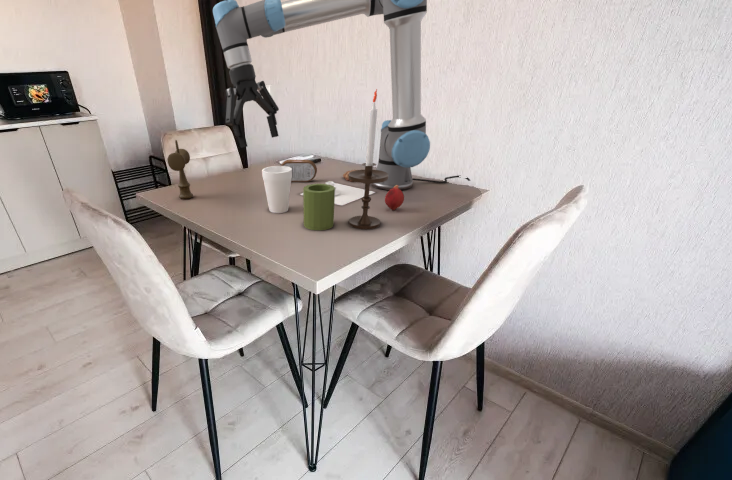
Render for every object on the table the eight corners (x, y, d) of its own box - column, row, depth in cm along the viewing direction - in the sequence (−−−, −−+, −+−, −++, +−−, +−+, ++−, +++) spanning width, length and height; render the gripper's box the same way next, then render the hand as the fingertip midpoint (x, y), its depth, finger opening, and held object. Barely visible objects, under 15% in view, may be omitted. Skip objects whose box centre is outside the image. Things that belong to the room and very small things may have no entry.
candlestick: (361, 214, 117) (371, 87, 98) (390, 223, 110) (406, 88, 92) (338, 224, 111) (344, 89, 92) (367, 233, 104) (380, 90, 86)
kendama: (174, 202, 134) (163, 142, 123) (181, 194, 142) (170, 137, 131) (191, 201, 134) (181, 142, 123) (197, 193, 142) (187, 137, 131)
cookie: (347, 182, 149) (347, 175, 147) (340, 176, 158) (340, 168, 156) (371, 181, 150) (372, 173, 148) (363, 174, 159) (363, 167, 157)
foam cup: (292, 214, 119) (291, 172, 112) (263, 215, 120) (261, 173, 113) (292, 204, 127) (291, 165, 120) (266, 205, 128) (263, 166, 121)
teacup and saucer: (329, 188, 142) (329, 178, 140) (346, 192, 137) (346, 181, 135) (314, 194, 137) (314, 182, 135) (330, 198, 132) (330, 186, 130)
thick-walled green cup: (334, 220, 114) (335, 183, 108) (332, 231, 107) (333, 192, 101) (306, 219, 115) (305, 183, 110) (301, 229, 108) (301, 192, 102)
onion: (391, 214, 117) (394, 188, 113) (380, 209, 121) (382, 184, 117) (406, 211, 119) (409, 185, 115) (394, 206, 123) (397, 181, 119)
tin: (316, 180, 153) (317, 158, 148) (316, 182, 150) (316, 160, 146) (280, 180, 154) (279, 159, 150) (279, 182, 152) (278, 161, 147)
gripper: (263, 64, 120) (279, 134, 130) (199, 76, 106) (223, 153, 116) (278, 58, 115) (294, 131, 124) (213, 69, 101) (237, 150, 111)
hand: (260, 141), depth 120 cm, fingers open, 13 cm apart
